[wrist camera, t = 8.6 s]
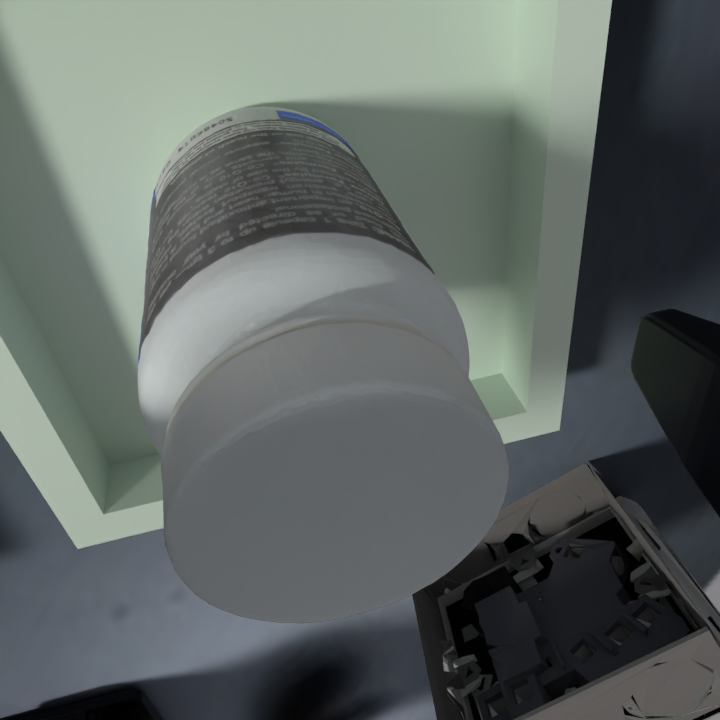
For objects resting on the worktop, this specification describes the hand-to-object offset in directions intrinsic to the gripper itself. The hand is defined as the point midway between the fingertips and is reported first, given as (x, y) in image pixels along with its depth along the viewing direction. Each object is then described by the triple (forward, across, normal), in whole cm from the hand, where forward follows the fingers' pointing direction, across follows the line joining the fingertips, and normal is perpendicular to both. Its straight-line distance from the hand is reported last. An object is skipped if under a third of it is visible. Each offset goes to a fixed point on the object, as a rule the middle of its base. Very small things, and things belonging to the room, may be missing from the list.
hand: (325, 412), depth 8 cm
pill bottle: (+7, 0, 0) cm, 7 cm away
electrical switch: (+8, -6, +15) cm, 18 cm away
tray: (+7, 0, +1) cm, 7 cm away
